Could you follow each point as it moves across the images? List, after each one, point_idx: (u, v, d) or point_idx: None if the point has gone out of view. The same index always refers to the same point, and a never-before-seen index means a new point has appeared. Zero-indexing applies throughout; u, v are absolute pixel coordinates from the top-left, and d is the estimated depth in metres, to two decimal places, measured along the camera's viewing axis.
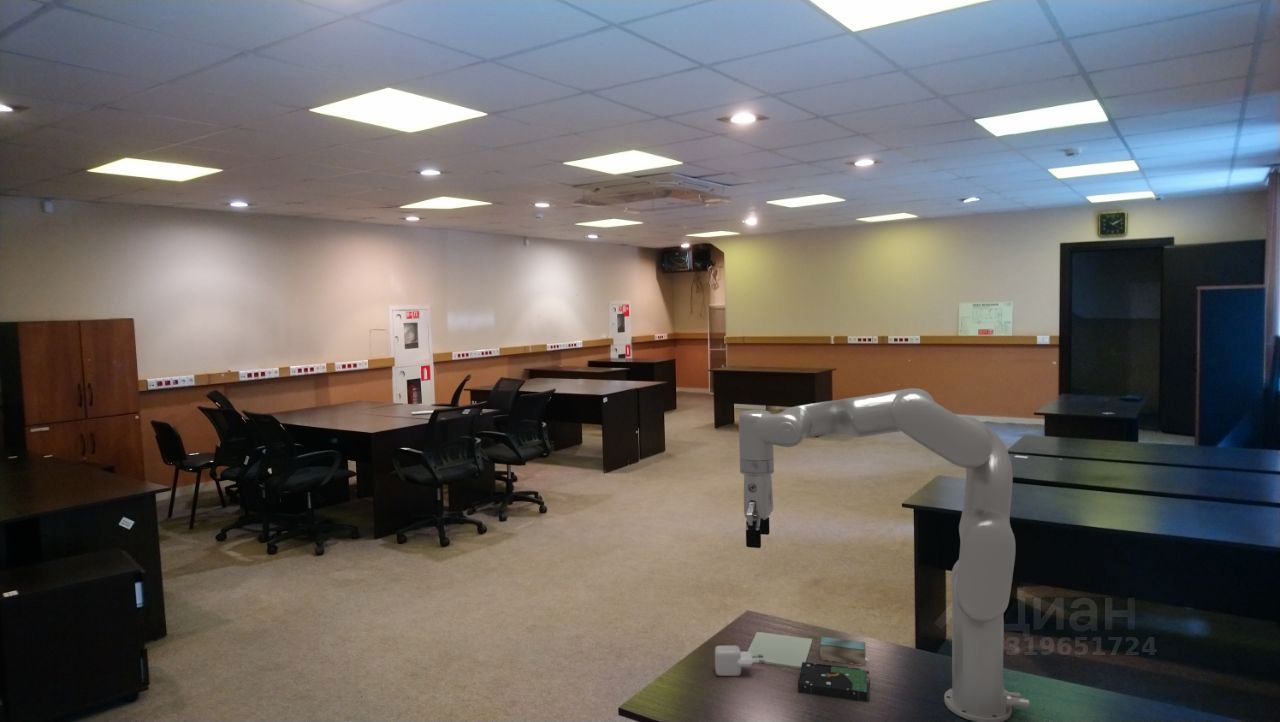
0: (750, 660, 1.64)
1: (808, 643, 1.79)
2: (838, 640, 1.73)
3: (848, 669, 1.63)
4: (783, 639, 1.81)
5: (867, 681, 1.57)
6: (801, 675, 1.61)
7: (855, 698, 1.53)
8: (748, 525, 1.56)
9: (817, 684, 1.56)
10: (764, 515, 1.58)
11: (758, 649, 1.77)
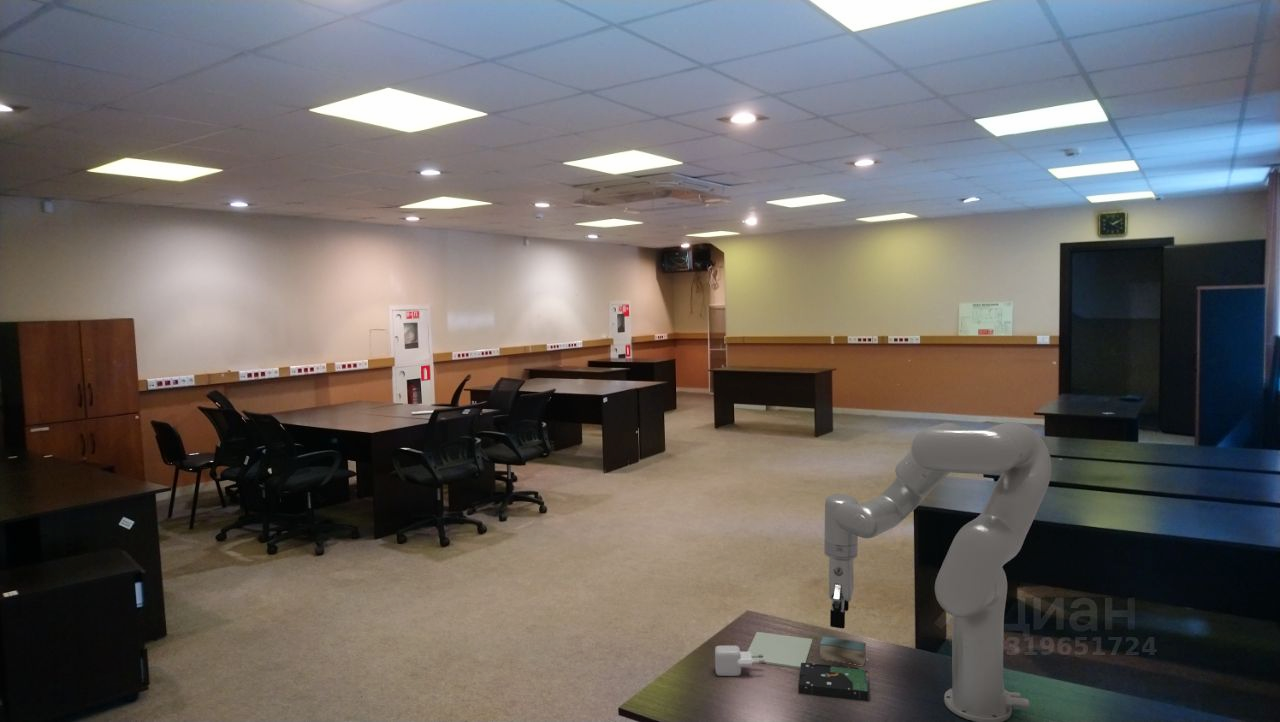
0: (750, 660, 1.64)
1: (808, 643, 1.79)
2: (838, 640, 1.73)
3: (847, 668, 1.63)
4: (783, 639, 1.81)
5: (867, 680, 1.57)
6: (801, 676, 1.61)
7: (856, 698, 1.54)
8: (834, 608, 1.64)
9: (818, 684, 1.56)
10: (849, 598, 1.66)
11: (758, 649, 1.77)
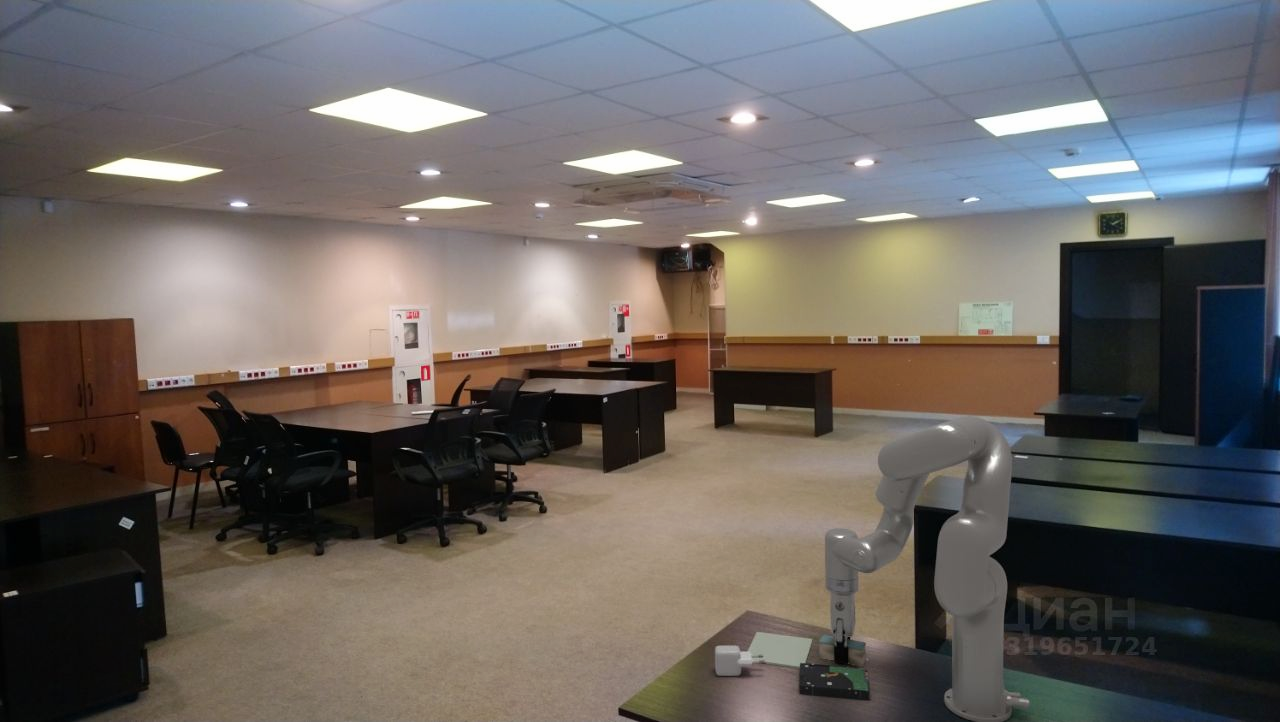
0: (750, 660, 1.64)
1: (808, 643, 1.79)
2: None
3: (846, 668, 1.63)
4: (783, 639, 1.81)
5: (867, 680, 1.58)
6: (801, 676, 1.60)
7: (857, 697, 1.54)
8: (837, 643, 1.67)
9: (818, 685, 1.56)
10: (851, 633, 1.66)
11: (758, 649, 1.77)
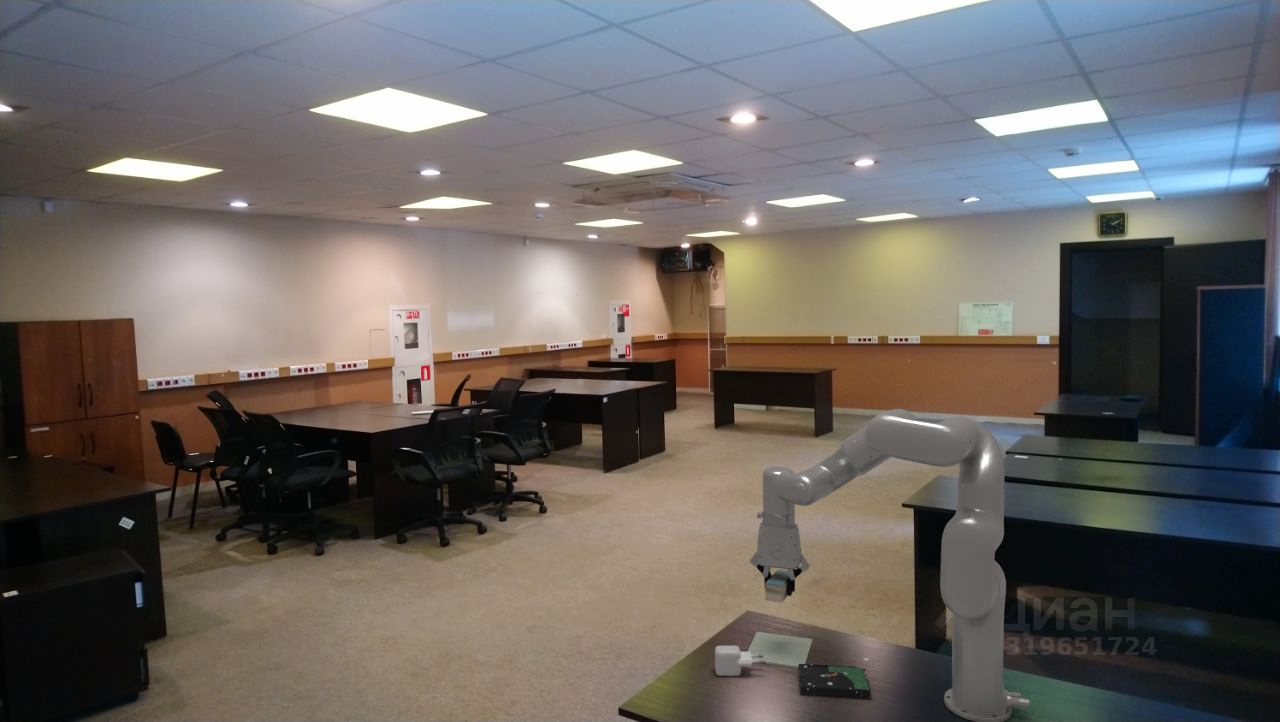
0: (750, 660, 1.64)
1: (808, 643, 1.79)
2: (785, 576, 1.76)
3: (845, 667, 1.63)
4: (783, 639, 1.81)
5: (866, 679, 1.58)
6: (801, 677, 1.60)
7: (858, 697, 1.54)
8: None
9: (819, 685, 1.56)
10: (757, 560, 1.74)
11: (758, 649, 1.77)
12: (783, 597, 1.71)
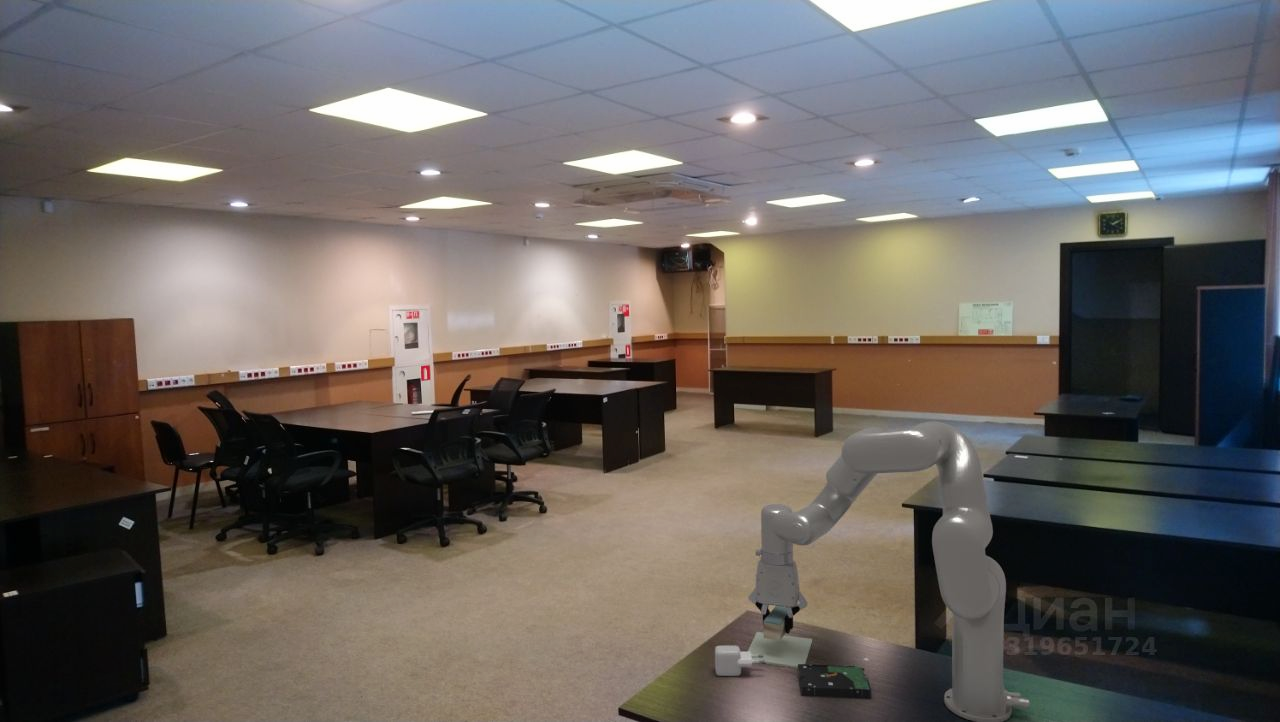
0: (750, 660, 1.64)
1: (808, 643, 1.79)
2: (783, 613, 1.76)
3: (844, 667, 1.64)
4: (783, 639, 1.81)
5: (866, 678, 1.58)
6: (801, 678, 1.60)
7: (858, 696, 1.54)
8: None
9: (820, 686, 1.56)
10: (756, 597, 1.75)
11: (758, 649, 1.77)
12: (781, 635, 1.72)
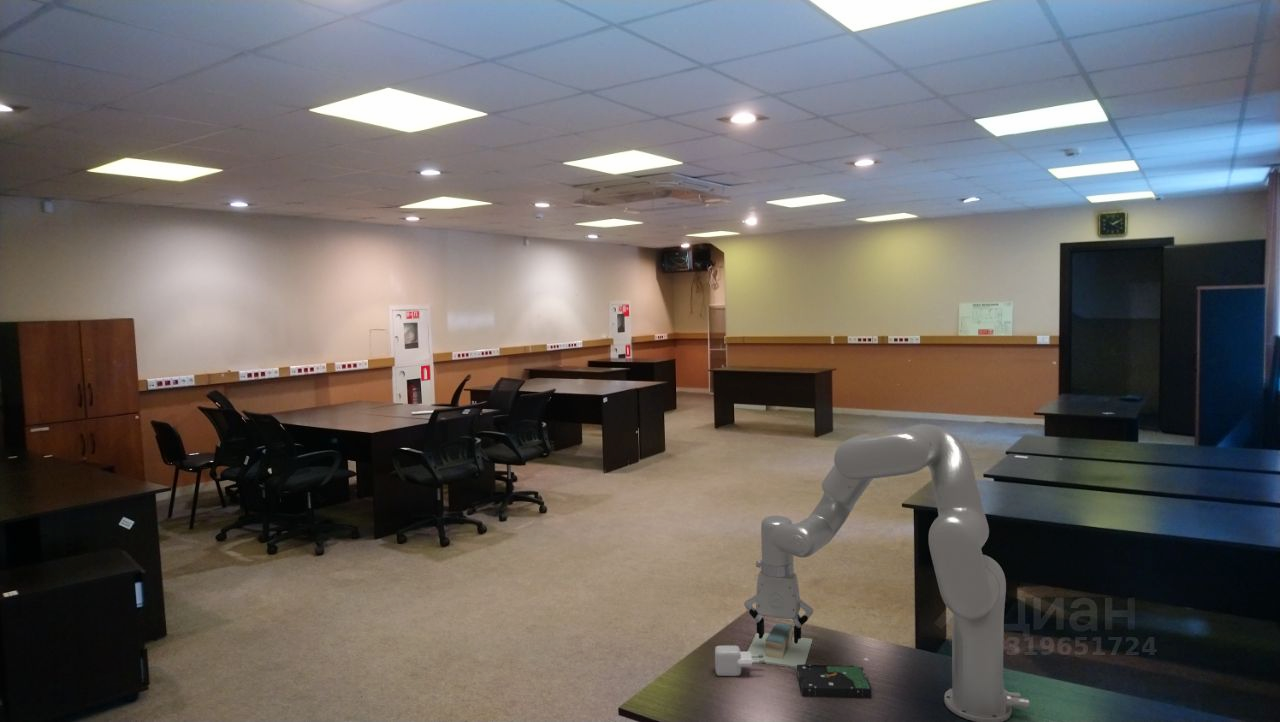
0: (750, 660, 1.64)
1: (808, 643, 1.79)
2: (784, 631, 1.77)
3: (843, 667, 1.64)
4: None
5: (866, 677, 1.59)
6: (801, 678, 1.59)
7: (859, 696, 1.54)
8: None
9: (821, 686, 1.56)
10: (756, 609, 1.75)
11: (758, 649, 1.77)
12: (783, 653, 1.72)
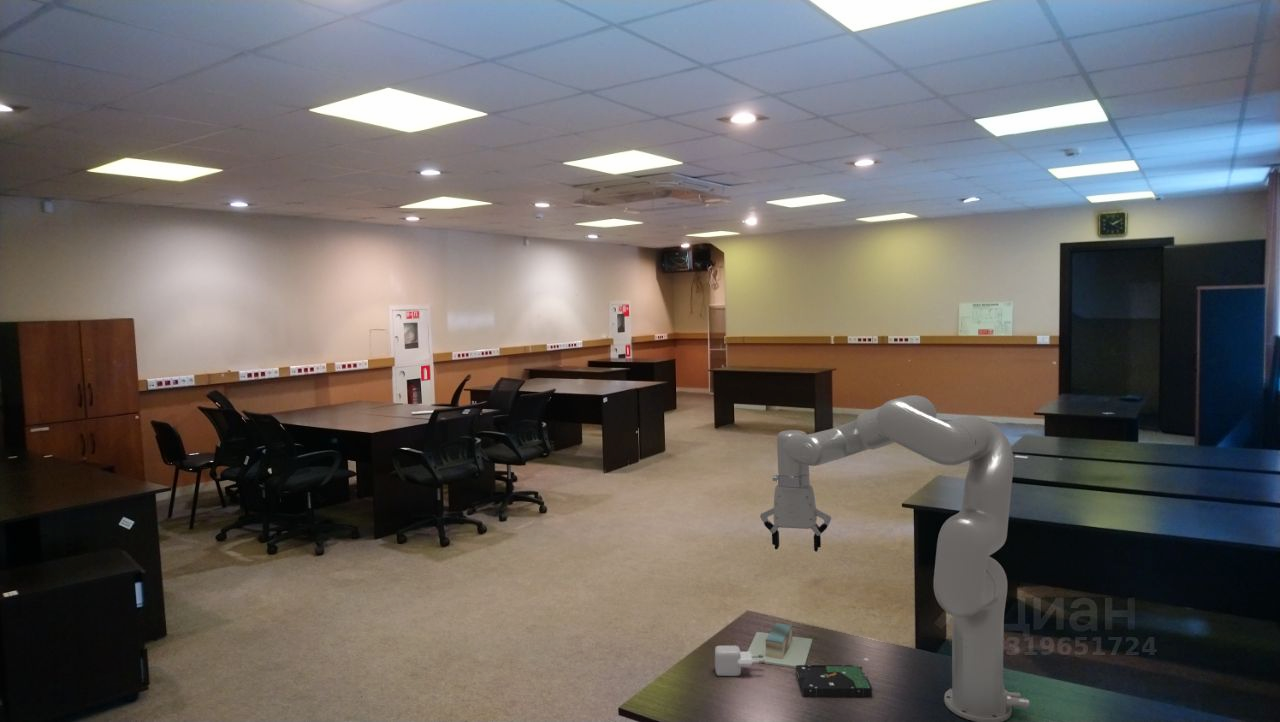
0: (750, 660, 1.64)
1: (808, 643, 1.79)
2: (784, 631, 1.77)
3: (842, 667, 1.64)
4: None
5: (866, 677, 1.59)
6: (801, 679, 1.59)
7: (860, 695, 1.54)
8: None
9: (822, 686, 1.56)
10: (774, 521, 1.79)
11: (758, 649, 1.77)
12: (783, 653, 1.72)
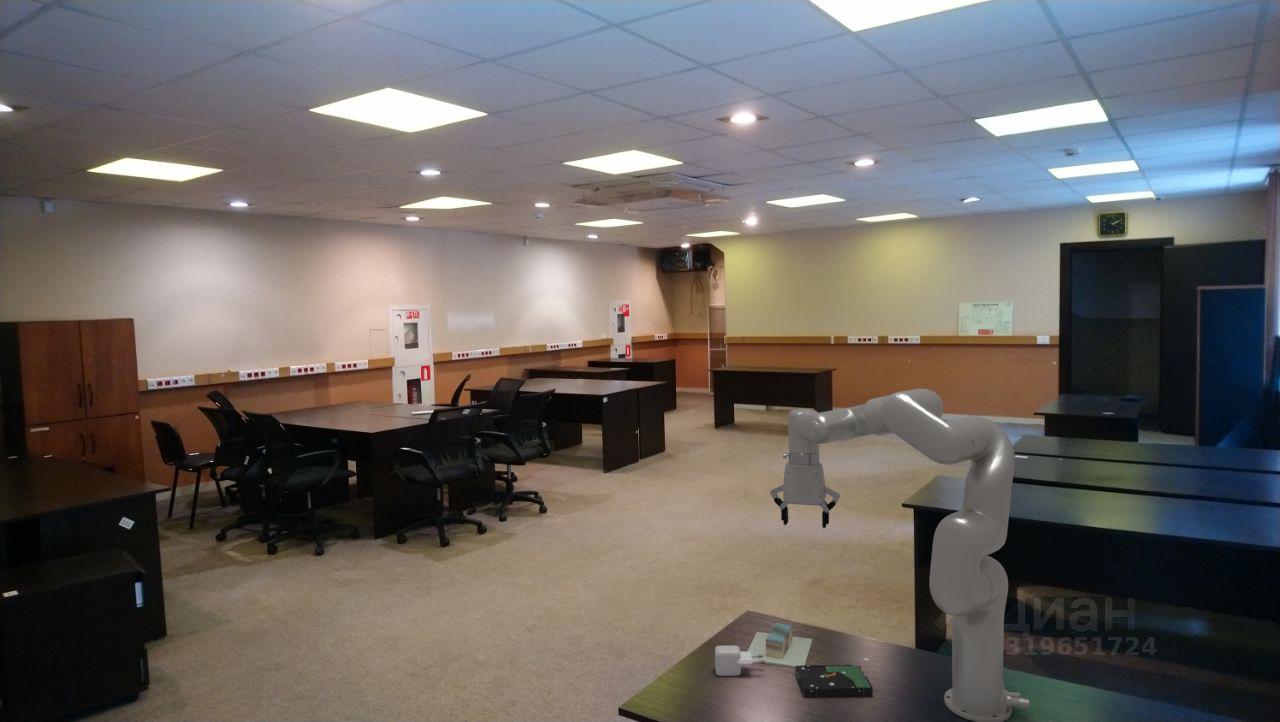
0: (750, 660, 1.64)
1: (808, 643, 1.79)
2: (784, 631, 1.77)
3: (841, 666, 1.64)
4: None
5: (865, 676, 1.59)
6: (802, 679, 1.59)
7: (860, 695, 1.55)
8: None
9: (822, 686, 1.55)
10: (784, 498, 1.82)
11: (758, 649, 1.77)
12: (783, 653, 1.72)
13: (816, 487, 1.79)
